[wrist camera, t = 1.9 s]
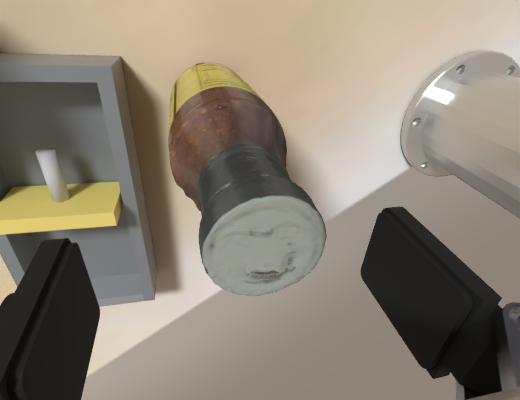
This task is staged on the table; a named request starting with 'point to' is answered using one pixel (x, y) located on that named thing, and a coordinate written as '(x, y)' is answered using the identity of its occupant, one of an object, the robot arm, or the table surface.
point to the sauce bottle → (240, 184)
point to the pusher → (59, 202)
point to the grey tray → (77, 163)
